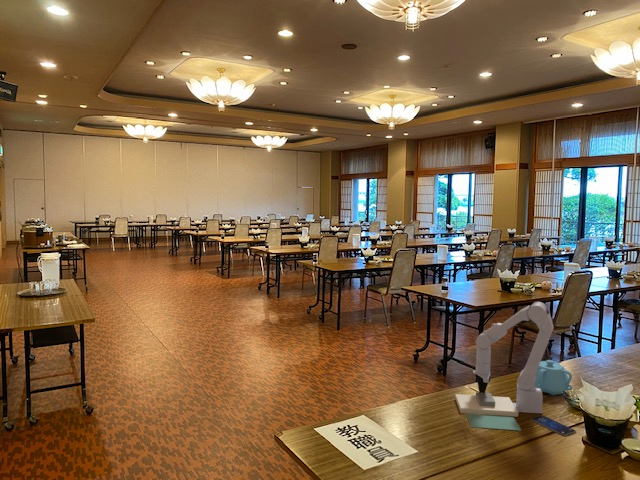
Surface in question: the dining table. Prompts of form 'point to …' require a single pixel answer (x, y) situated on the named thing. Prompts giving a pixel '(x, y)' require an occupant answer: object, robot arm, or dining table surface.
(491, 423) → the mat
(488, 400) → the grey bevelled tile
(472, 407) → the white flat board
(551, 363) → the decorative pot
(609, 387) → the dining table surface
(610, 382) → the dining table surface
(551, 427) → the smartphone
